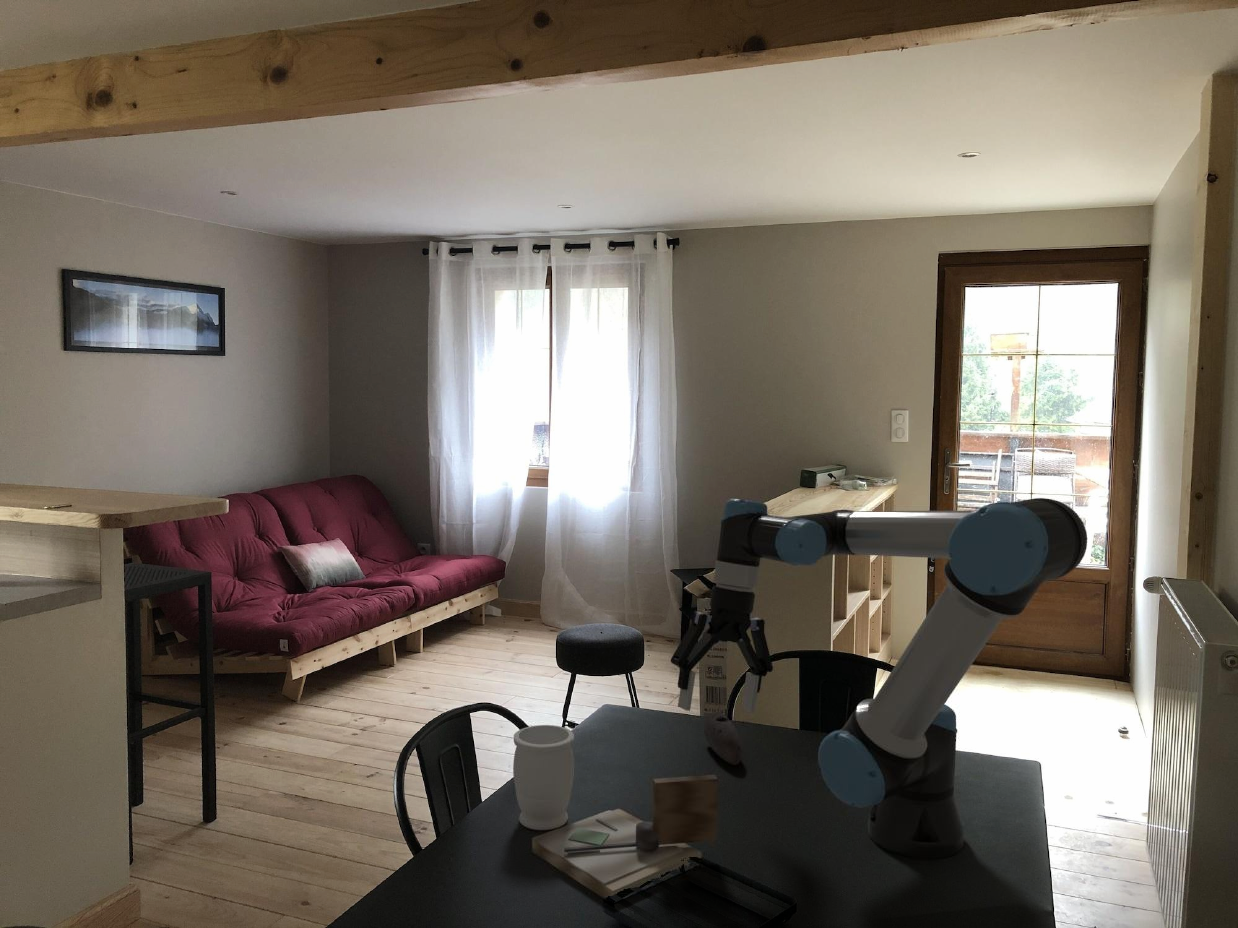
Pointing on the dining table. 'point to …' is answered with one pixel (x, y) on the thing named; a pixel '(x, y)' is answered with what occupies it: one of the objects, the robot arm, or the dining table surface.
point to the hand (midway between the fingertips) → (716, 709)
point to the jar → (543, 775)
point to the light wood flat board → (609, 853)
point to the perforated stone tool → (723, 738)
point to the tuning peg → (675, 814)
